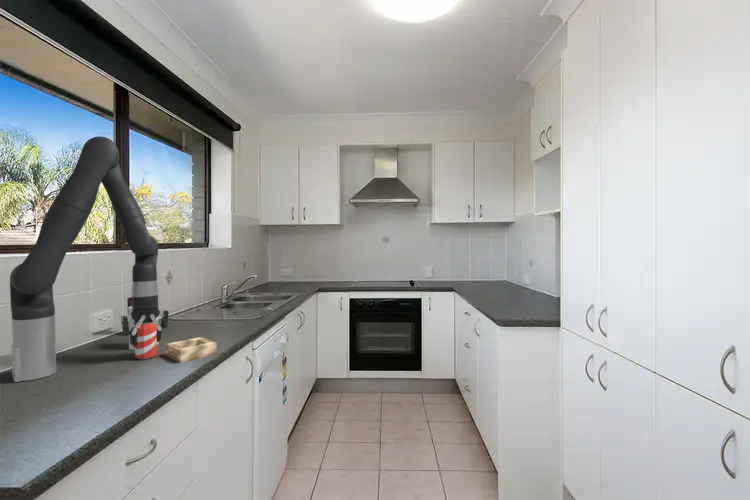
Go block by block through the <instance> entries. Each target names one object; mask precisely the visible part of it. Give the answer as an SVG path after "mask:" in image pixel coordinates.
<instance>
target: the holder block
mask: <svg viewBox="0 0 750 500" xmlns="http://www.w3.org/2000/svg"><path fill="white" fill-rule="evenodd" d="M217 354H218V342H215V341H213V340H210V339H209V338H205V337H201V336H200V337H195V338H190V339H184V340H180V341H174V342H170V343H165V356H166V357H168V358H170V359H171V360H173V361H176V362H178V363H180V364H182V363H185V362H186V361H187V362H190V361H194V360H199V359H202V358H207V357H212V356H214V355H217Z"/></svg>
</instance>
